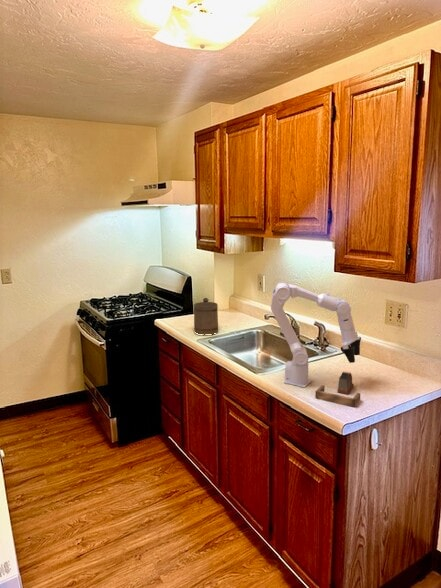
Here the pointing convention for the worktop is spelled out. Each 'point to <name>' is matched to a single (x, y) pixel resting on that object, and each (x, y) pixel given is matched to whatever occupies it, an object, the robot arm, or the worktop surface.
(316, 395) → the cradle
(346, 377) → the electronic device
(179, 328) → the worktop surface
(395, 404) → the worktop surface
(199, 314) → the wooden container
